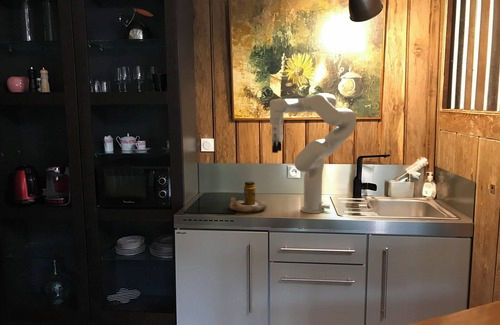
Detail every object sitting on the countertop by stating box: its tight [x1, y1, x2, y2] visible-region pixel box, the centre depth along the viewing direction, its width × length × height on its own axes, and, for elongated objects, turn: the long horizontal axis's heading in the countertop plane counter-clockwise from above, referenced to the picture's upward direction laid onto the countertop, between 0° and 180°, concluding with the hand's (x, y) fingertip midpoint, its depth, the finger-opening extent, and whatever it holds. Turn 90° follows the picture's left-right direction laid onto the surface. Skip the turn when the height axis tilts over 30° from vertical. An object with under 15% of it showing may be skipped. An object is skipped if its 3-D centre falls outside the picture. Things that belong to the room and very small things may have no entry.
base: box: [239, 211, 257, 213], centre depth 228 cm, size 12×12×1 cm
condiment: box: [238, 181, 257, 206], centre depth 226 cm, size 7×8×12 cm
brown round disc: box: [229, 197, 267, 212], centre depth 227 cm, size 20×20×6 cm
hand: (276, 151), depth 238 cm, fingers open, 9 cm apart
